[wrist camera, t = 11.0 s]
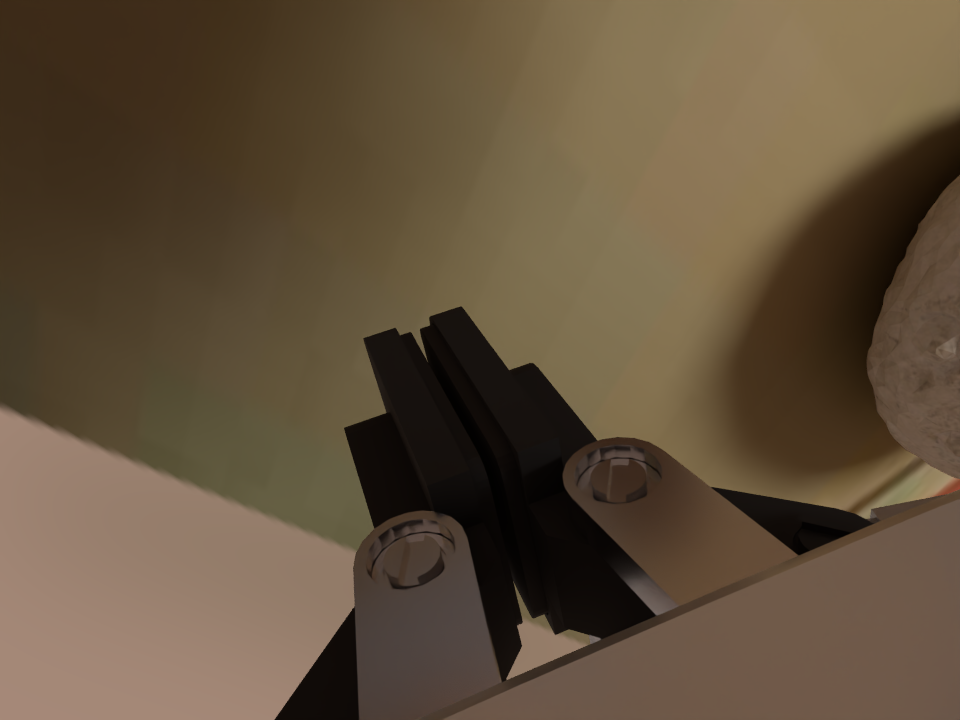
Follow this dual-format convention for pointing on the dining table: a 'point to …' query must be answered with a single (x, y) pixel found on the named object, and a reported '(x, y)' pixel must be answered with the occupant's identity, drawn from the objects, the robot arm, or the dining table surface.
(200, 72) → the dining table surface
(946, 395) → the decorative shell
